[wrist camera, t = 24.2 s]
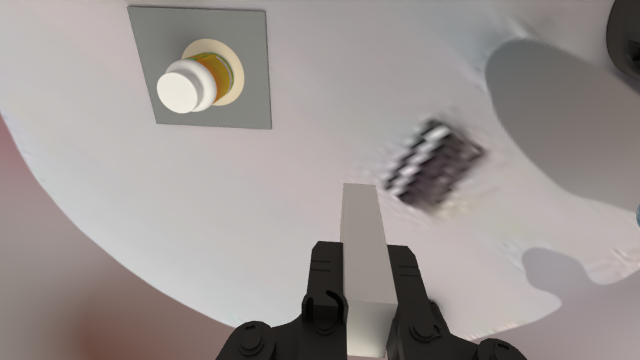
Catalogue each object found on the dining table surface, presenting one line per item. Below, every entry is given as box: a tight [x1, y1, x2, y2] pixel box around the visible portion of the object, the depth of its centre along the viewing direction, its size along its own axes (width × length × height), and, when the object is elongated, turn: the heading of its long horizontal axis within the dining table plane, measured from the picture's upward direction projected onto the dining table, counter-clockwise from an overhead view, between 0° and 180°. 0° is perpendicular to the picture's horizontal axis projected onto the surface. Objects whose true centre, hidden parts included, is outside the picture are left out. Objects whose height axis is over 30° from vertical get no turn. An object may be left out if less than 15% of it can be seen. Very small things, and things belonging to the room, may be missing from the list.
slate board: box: [127, 7, 272, 130], centre depth 37 cm, size 16×14×1 cm
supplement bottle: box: [157, 52, 234, 113], centre depth 33 cm, size 5×5×10 cm
